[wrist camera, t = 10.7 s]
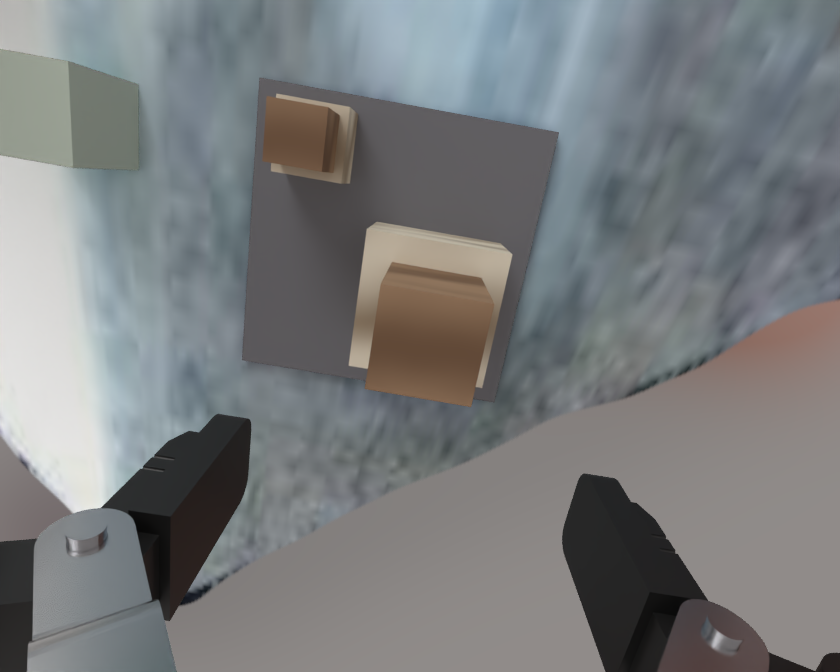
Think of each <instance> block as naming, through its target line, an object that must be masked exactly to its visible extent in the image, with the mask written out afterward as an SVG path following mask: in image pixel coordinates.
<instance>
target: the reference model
mask: <svg viewBox="0 0 840 672" xmlns="http://www.w3.org/2000/svg"><path fill="white" fill-rule="evenodd" d="M357 121H358V114H357V113H356V112H355V111H354V110H353V109H352V108H351V107H347V106H342V105H336V104H331V103H326V102H320V101H315V100H309V99H304V98H298V97H293V96H287V95H282V94H276V98H275V97H270V96H267V98H266V113H265V128H264V143H263V158H262V161H264V162H269V163H271V171H273V172H278V173H284V174H290V175H295V176H301V177H306V178H312V179H318V180H323V181H329V182H335V183H340V184H349V183H350V179H351V170H352V162H353V154H354V145H355V137H356V129H357Z"/></svg>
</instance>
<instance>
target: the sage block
mask: <svg viewBox="0 0 840 672" xmlns="http://www.w3.org/2000/svg"><path fill="white" fill-rule="evenodd" d="M0 155H3V156H8V157H14V158H20V159H25V160H31V161H37V162H42V163H48V164H54V165H59V166H65V167H71V168H89V169H116V170H139V91H138V84H136V83H133V82H130V81H127V80H124V79H120V78H117V77H114V76H111V75H108V74H105V73H102V72H99V71H96V70H93V69H90V68H87V67H84V66H81V65H78V64H75V63H72V62H69V61H64V60H58V59H53V58H47V57H42V56H36V55H31V54H25V53H20V52H14V51H9V50H3V49H0Z"/></svg>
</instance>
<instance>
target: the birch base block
mask: <svg viewBox="0 0 840 672" xmlns="http://www.w3.org/2000/svg"><path fill="white" fill-rule="evenodd" d="M512 255H513V254H511V253H510V252H509V251H508V250H507V249H506V248H505V247H504V246H503V245H502V244H501V243H496V242H490V241H484V240H479V239H473V238H467V237H462V236H456V235H450V234H444V233H439V232H433V231H427V230H422V229H416V228H410V227H405V226H399V225H393V224H388V223H382V222H376V223H374V224H373V225H372V226H370V227H369V228H367V231H366V239H365V246H364V254H363V261H362V269H361V276H360V284H359V291H358V299H357V306H356V314H355V321H354V328H353V336H352V343H351V351H350V358H349V366H353V367H359V368H365V369H368V364H369V358H370V351H371V344H372V338H373V331H374V325H375V318H376V311H377V305H378V298H379V292H380V285H381V282H382V280H383V278H384V276H385V274H386V273H387V271H388V269H389V267H390V265H391V263H392V262H395V263H401V264H407V265H412V266H418V267H423V268H429V269H435V270H440V271H446V272H452V273H457V274H463V275H468V276H474V277H480V278H482V280H483V282H484V284H485V286H486V288H487V290H488V292H489V294H490V296H491V298H492V300H493V302H494V308H493V313H492V317H491V322H490V326H489V330H488V335H487V339H486V343H485V348H484V352H483V357H482V361H481V365H480V370H479V374H478V379H477V383H476V387H479V388H482V386H483V382H484V378H485V373H486V369H487V364H488V360H489V356H490V351H491V347H492V343H493V338H494V334H495V329H496V325H497V321H498V316H499V312H500V307H501V303H502V299H503V294H504V290H505V286H506V281H507V277H508V272H509V268H510V264H511V259H512Z"/></svg>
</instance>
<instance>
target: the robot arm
mask: <svg viewBox="0 0 840 672" xmlns="http://www.w3.org/2000/svg"><path fill="white" fill-rule="evenodd" d="M250 440H251V421H250V419H246V418H240V417H234V416H228V415H222V414H217V415H215V416H214V417H213V418H212V419H211V420H210V421H209V422H208V424H207V425H206V426H205V427H204V428H203V429H202V430H201V431H200V432H199V433H198V432H192V431H188V432H186V433H184V434H182V435H180V436H178V437H176V438H174V439H172V440H170V441H168V442H167V443H166V444H165V445H164V446H163V447H162V448H161V449H160V450H159V451H158V452H157V453H156V454H155V456H154V458H153V457H152V458H151V459H150V460H149V461H148V462H147V463H146V464H145V465H144V466H143V469H140V470H139V471H138V472H137V473H136V474H135V475H134V476H133V477H132V478H131V479H130V480H129V481H128V482H127V483H126V484H125V485H124V486H123V487H122V488H121V489H120V490H119V491H118V492H117V493H116V494H114V495H113V496H112V497H111V498H110V499H109V500H108V501H107V502H106V503H105V504H104V505H103V506H102V507H101V508H98V509H90V510H84V511H80V512H77V513H74V514H71V515H68V516H66V517H64V518H62V519H60V520H58V521H57V522H55V523H53V524H52V525H50V526H49V527H48V528H46V529H45V530H44V531H43V532H42V533H41V534H40V536H39V537H38V538H37V539H29V540H17V541H4V542H0V672H177V671H176V667H175V662H174V658H173V654H172V651H171V646H170V642H169V638H168V633H167V630H166V625H165V621H164V620H167V621H170V620H171V618H172V616H173V615H174V613H175V611H176V610H177V608H178V606H179V604H180V603H181V601H182V599H183V598H184V596H185V594H186V593H187V591H188V589H189V588H190V586H191V584H192V583H193V581H194V579H195V578H196V576H197V574H198V573H199V571H200V569H201V567H202V566H203V564H204V562H205V561H206V559H207V557H208V556H209V554H210V552H211V551H212V549H213V547H214V546H215V544H216V542H217V541H218V539H219V537H220V535H221V534H222V532H223V530H224V529H225V527H226V525H227V524H228V522H229V520H230V519H231V517H232V515H233V514H234V512H235V510H236V509H237V507H238V505H239V504H240V502H241V500H242V497H243V495H244V492H245V488H246V485H247V480H248V470H249V455H250ZM562 544H563V551H564V555H565V558H566V561H567V564H568V566H569V569H570V572H571V575H572V578H573V581H574V583H575V586H576V589H577V592H578V595H579V598H580V601H581V603H582V606H583V609H584V612H585V615H586V618H587V620H588V623H589V626H590V629H591V632H592V634H593V638H594V640H595V643H596V646H597V649H598V652H599V655H600V657H601V660H602V663H603V666H604V669H605V671H606V672H840V653H829V654H827V655H825V656H824V657H823V659H822V661H821V662H820V664H819V666H818V667H817V669H816V671H813V670H811V669H808V668H806V667H803V666H801V665H798V664H796V663H794V662H791V661H789V660H786V659H783V658H781V657H779V656H776V655H773V654H771V653H769V652H768V650H767V648H766V646H765V643H764V642H763V640H762V639H761V637H760V636H759V635H758V634H757V633H756V631H755V630H754V629H753V628H752V627H751V626H750V625H749V624H748V623H746V622H745V621H744V620H743V619H742V618H740V617H739V616H737V615H736V614H734V613H733V612H731V611H730V610H728V609H726V608H724V607H722V606H720V605H718V604H715V603H713V602H710V601H708V600H707V598H706V597H705V595H704V593H702V590H701V589H700V587H699V586H698V584H697V583H696V581H695V580H694V579H693V577H692V575H691V574H690V572H689V571H688V569H687V568H686V566H685V565H684V563H683V561H682V560H681V558H680V557H679V555H678V554H675V549H674V548H673V546H672V545H671V543H670V542H669V540H667V539H666V536H665V534H664V533H663V531H662V530H661V528H660V526H659V525H658V523H657V522H656V520H655V519H654V518H653V517H652V516H651V515H650V514H648V513H647V512H646V511H645V510H644V509H643V508H642V507H640V506H639V505H638V504H637V503H633V502H630V500H629V498H628V496H627V495H626V493H625V492H624V490H623V488H622V487H621V485H620V483H619V482H618V481H617V480H616V479H615V478H609V477H603V476H597V475H590V474H582V475H581V477H580V478H579V480H578V483H577V486H576V489H575V492H574V495H573V499H572V502H571V505H570V508H569V511H568V514H567V518H566V521H565V524H564V529H563V536H562Z"/></svg>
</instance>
